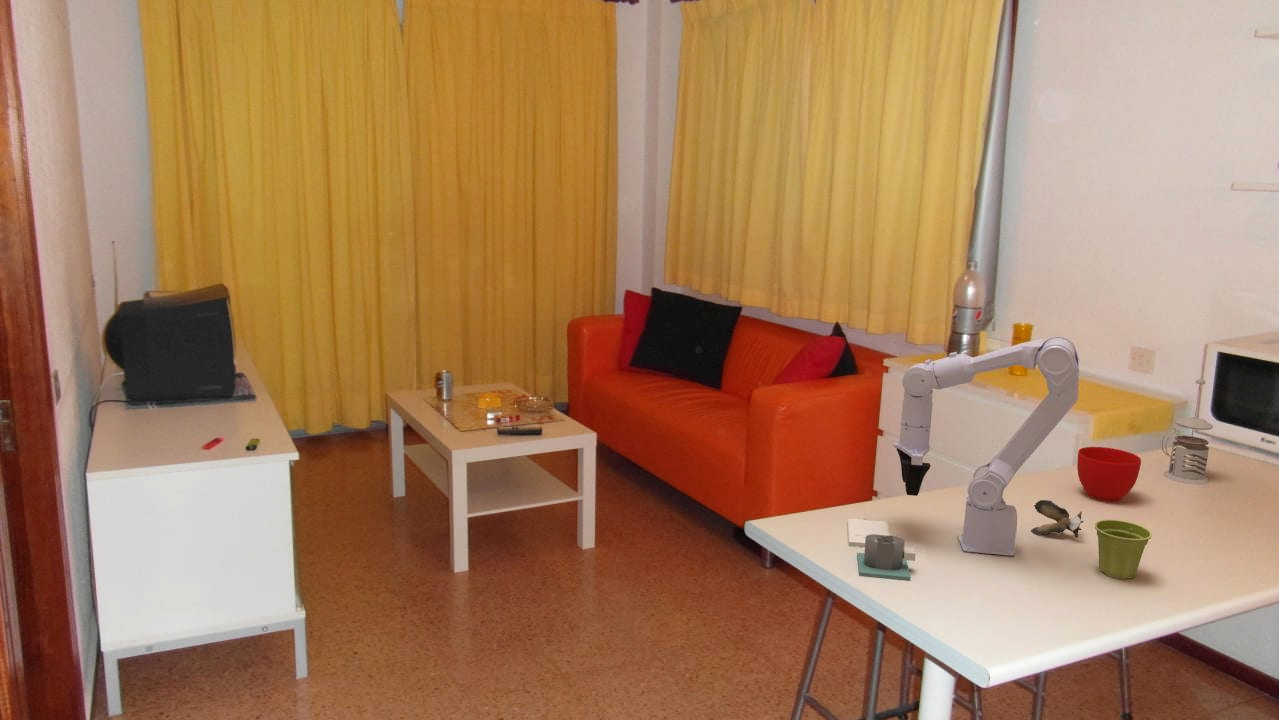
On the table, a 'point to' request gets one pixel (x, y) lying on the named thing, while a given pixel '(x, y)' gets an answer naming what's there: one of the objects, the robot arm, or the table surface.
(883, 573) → the mat
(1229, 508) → the table surface
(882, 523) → the external hard drive
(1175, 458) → the french press
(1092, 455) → the red bowl
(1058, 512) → the eagle figurine
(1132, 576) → the plant pot
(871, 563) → the plug
